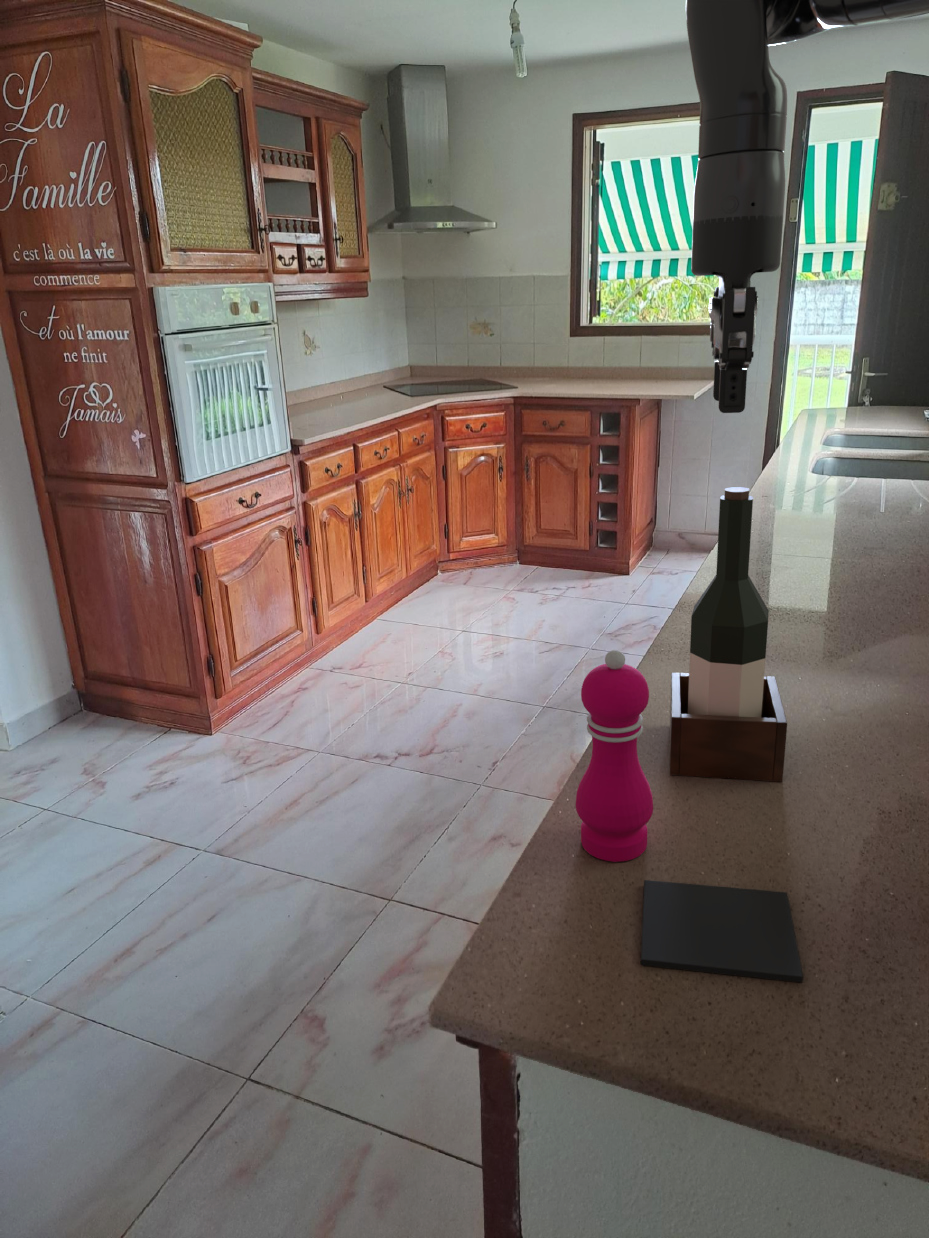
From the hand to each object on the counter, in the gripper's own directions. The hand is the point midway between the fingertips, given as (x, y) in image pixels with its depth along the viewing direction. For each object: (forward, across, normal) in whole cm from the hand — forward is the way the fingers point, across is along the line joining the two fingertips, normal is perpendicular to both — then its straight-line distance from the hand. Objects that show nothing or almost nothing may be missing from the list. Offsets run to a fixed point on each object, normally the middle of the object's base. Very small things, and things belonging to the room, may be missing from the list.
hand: (727, 406), depth 82 cm
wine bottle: (+39, +4, -2) cm, 39 cm away
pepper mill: (+39, -15, +10) cm, 43 cm away
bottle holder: (+39, +4, -2) cm, 39 cm away
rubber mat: (+39, -26, +1) cm, 47 cm away
